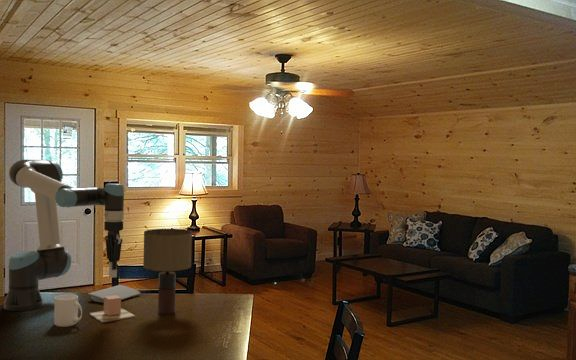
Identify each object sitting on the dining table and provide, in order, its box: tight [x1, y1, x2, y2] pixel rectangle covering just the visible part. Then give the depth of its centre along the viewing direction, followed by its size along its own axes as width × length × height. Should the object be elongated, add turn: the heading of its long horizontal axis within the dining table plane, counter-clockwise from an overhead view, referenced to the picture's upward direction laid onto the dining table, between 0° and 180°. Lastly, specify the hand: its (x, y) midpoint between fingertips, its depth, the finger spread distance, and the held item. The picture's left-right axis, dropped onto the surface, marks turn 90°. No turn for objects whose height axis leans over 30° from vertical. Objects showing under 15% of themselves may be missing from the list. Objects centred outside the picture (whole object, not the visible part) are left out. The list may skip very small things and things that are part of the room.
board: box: [89, 307, 136, 324], centre depth 225 cm, size 14×14×1 cm
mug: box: [53, 293, 83, 328], centre depth 212 cm, size 9×12×11 cm
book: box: [87, 284, 142, 304], centre depth 254 cm, size 15×23×4 cm, turn 154°
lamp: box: [142, 228, 193, 315], centre depth 232 cm, size 20×20×35 cm
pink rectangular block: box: [103, 295, 122, 316], centre depth 225 cm, size 5×5×7 cm
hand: (112, 277), depth 225 cm, fingers closed
